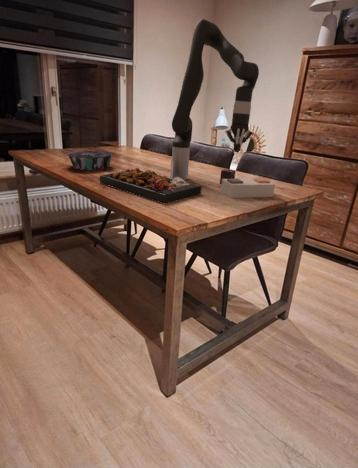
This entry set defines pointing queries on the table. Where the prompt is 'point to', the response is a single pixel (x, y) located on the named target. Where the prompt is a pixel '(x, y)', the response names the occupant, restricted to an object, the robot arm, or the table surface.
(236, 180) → the charcoal key
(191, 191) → the food platter
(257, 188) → the key panel
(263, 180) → the terracotta key
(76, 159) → the decorative bowl
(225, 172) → the box
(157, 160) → the table surface
